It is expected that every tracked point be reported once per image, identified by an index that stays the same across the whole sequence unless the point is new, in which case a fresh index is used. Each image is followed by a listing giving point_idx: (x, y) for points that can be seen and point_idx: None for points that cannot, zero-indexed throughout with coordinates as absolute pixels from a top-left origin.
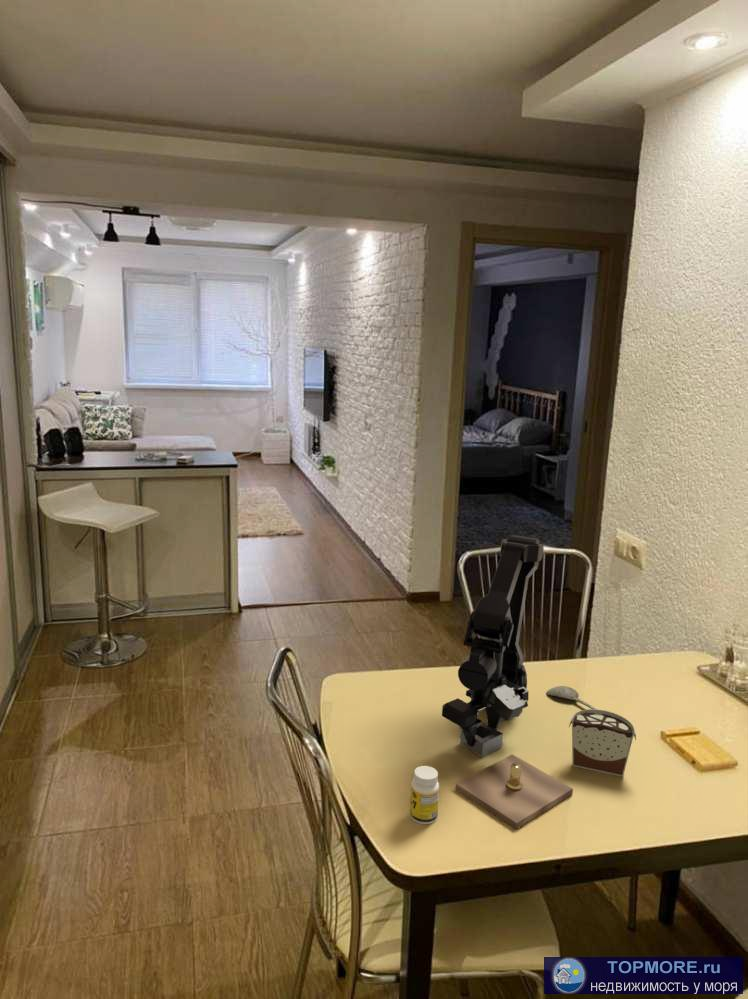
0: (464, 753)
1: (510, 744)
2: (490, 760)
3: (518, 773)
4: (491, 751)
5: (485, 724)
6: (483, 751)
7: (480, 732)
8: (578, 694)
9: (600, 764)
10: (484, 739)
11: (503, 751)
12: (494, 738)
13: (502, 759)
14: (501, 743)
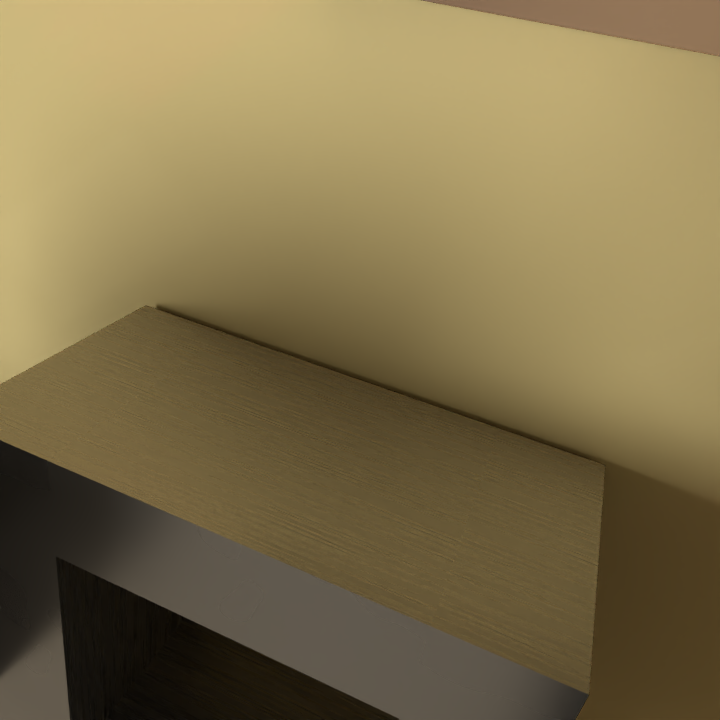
0: (662, 694)
1: (11, 237)
2: (612, 309)
3: None
4: (367, 392)
5: (8, 712)
6: (574, 517)
7: (156, 663)
8: None
9: None
10: (406, 684)
11: (213, 241)
12: (198, 509)
13: (659, 27)
14: (119, 338)
